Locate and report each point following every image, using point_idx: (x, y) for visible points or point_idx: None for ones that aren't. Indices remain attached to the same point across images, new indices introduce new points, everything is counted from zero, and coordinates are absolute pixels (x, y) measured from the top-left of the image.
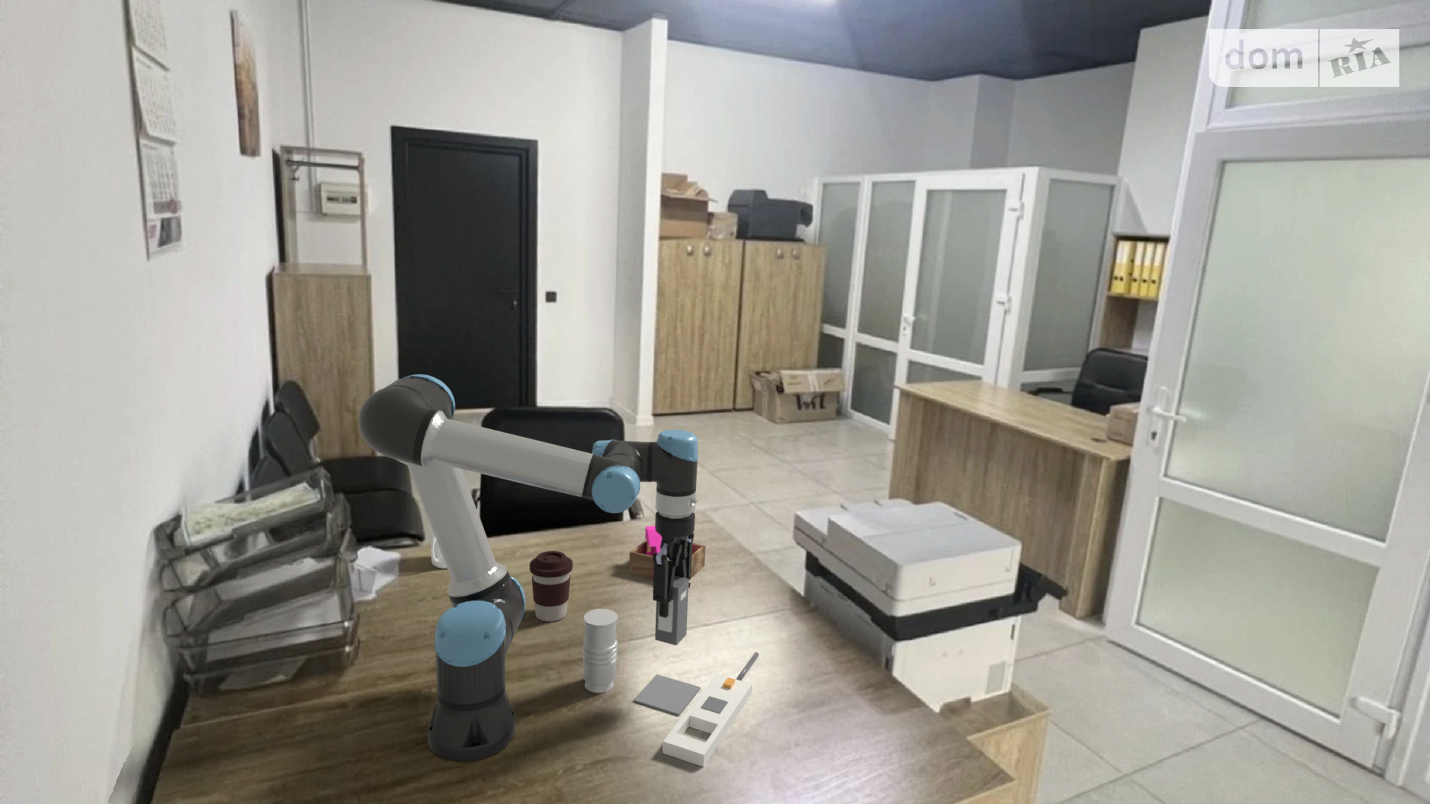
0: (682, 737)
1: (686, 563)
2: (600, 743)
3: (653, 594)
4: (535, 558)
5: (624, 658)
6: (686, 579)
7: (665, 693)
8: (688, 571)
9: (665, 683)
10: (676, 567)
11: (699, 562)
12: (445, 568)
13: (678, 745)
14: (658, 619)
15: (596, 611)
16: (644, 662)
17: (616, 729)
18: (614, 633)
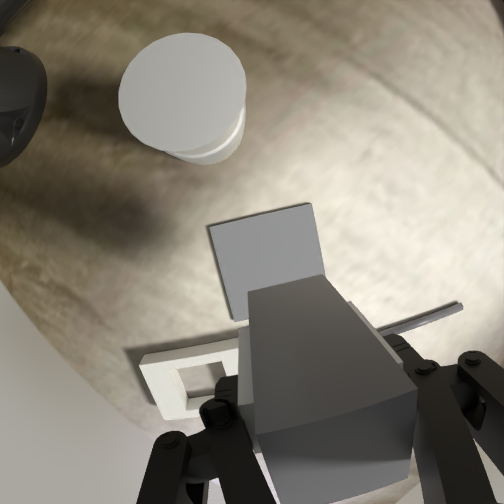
0: (168, 381)
1: (497, 453)
2: (90, 265)
3: (149, 462)
4: None
5: (315, 107)
6: (396, 478)
7: (268, 262)
8: (472, 434)
9: (296, 239)
10: (431, 476)
11: None
12: None
13: (150, 386)
14: (238, 347)
15: (201, 49)
16: (332, 150)
17: (129, 260)
18: (203, 148)
